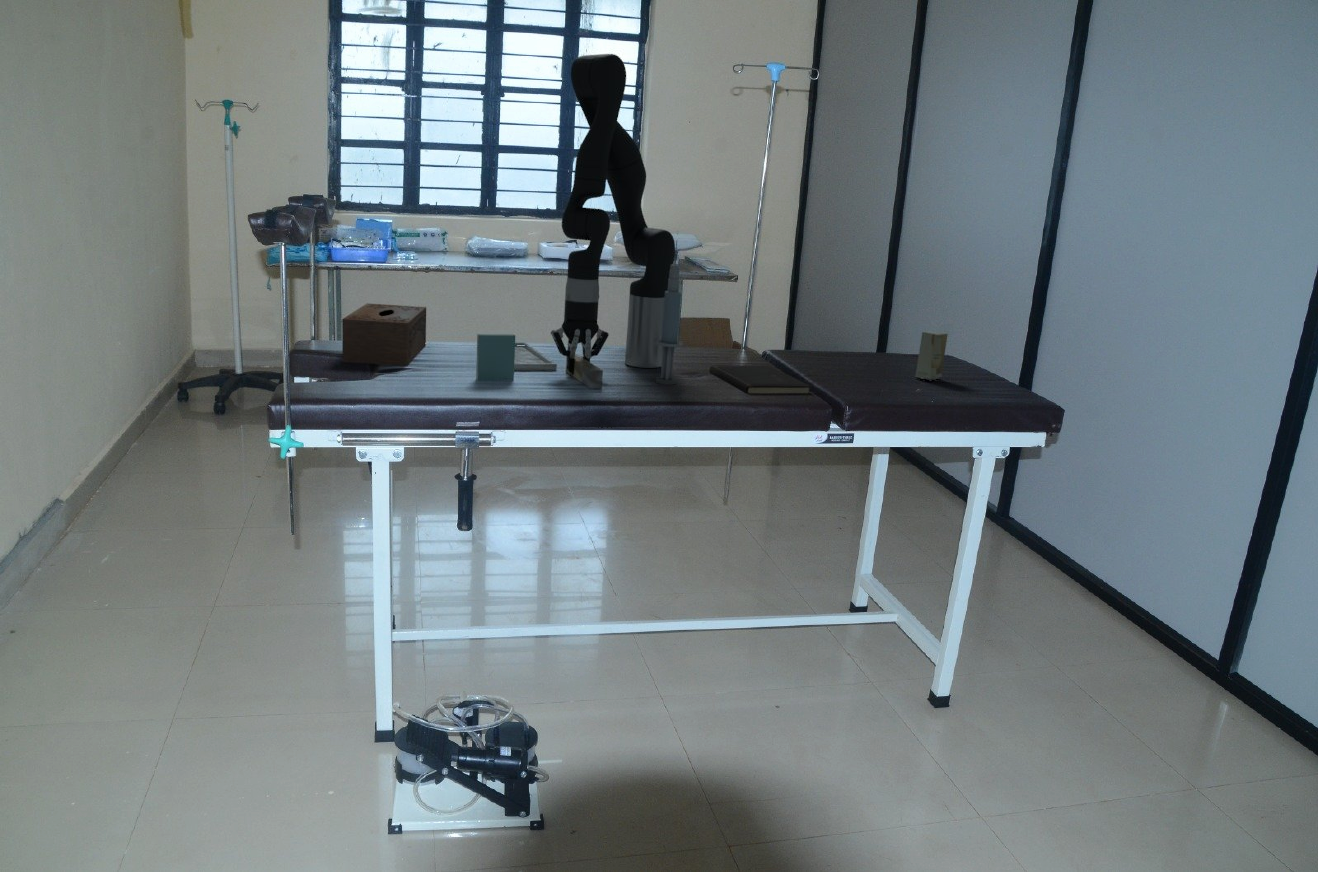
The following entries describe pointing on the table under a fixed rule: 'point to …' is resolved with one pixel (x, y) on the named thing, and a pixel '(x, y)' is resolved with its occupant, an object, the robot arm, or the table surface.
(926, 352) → the skincare box
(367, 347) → the tissue box cover
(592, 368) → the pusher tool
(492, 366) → the tile
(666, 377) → the syringe
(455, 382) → the table surface
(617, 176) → the robot arm
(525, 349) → the instrument tray
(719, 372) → the hardcover book
